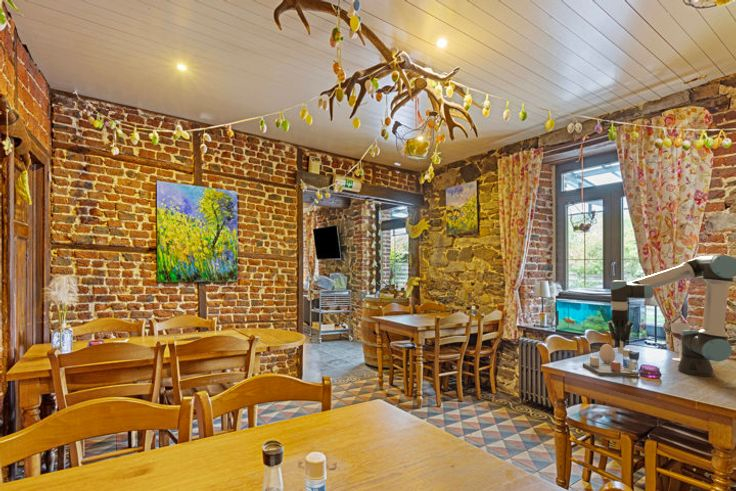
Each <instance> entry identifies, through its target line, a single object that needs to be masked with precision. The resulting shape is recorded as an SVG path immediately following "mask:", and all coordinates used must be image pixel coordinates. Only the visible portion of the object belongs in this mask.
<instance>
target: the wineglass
mask: <svg viewBox="0 0 736 491" xmlns="http://www.w3.org/2000/svg"><path fill="white" fill-rule="evenodd" d="M670 330H671V334H672V337H674V338H675V339H677V340H678V345H679V346H678V348H679V350H678V352H679V357H672V358H671V360H674V361H679V362H680V360H681V357H682V338H681V335H682V331H683V330H690V324H689V323H683V322H670Z"/></svg>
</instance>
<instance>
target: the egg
mask: <svg viewBox="0 0 736 491" xmlns="http://www.w3.org/2000/svg"><path fill="white" fill-rule="evenodd" d="M598 353H599V359H600V360H601V362H603V364H611V361H615V359H616V352H615V350H614V348H613V346H611V345H610V344H609V343H605V344H603V345H602V346H600V349H599V352H598Z"/></svg>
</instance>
